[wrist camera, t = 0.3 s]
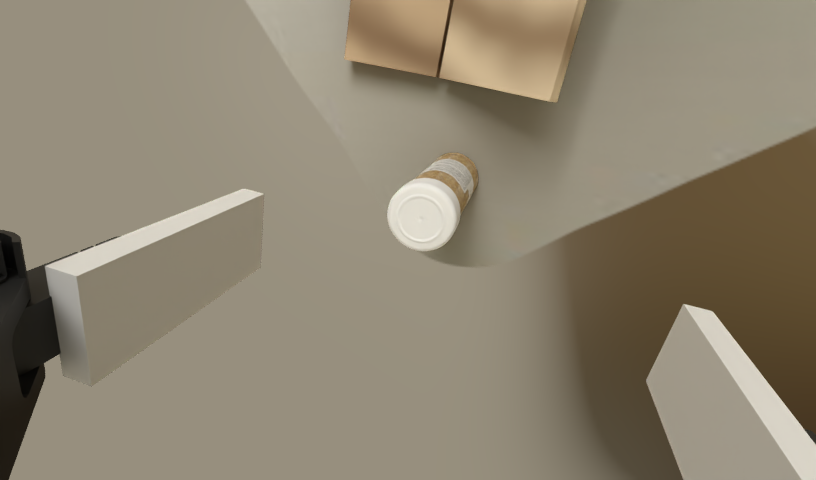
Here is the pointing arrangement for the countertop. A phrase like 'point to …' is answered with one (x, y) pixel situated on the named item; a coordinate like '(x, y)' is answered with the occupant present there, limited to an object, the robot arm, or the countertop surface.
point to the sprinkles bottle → (432, 203)
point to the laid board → (399, 34)
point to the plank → (512, 45)
